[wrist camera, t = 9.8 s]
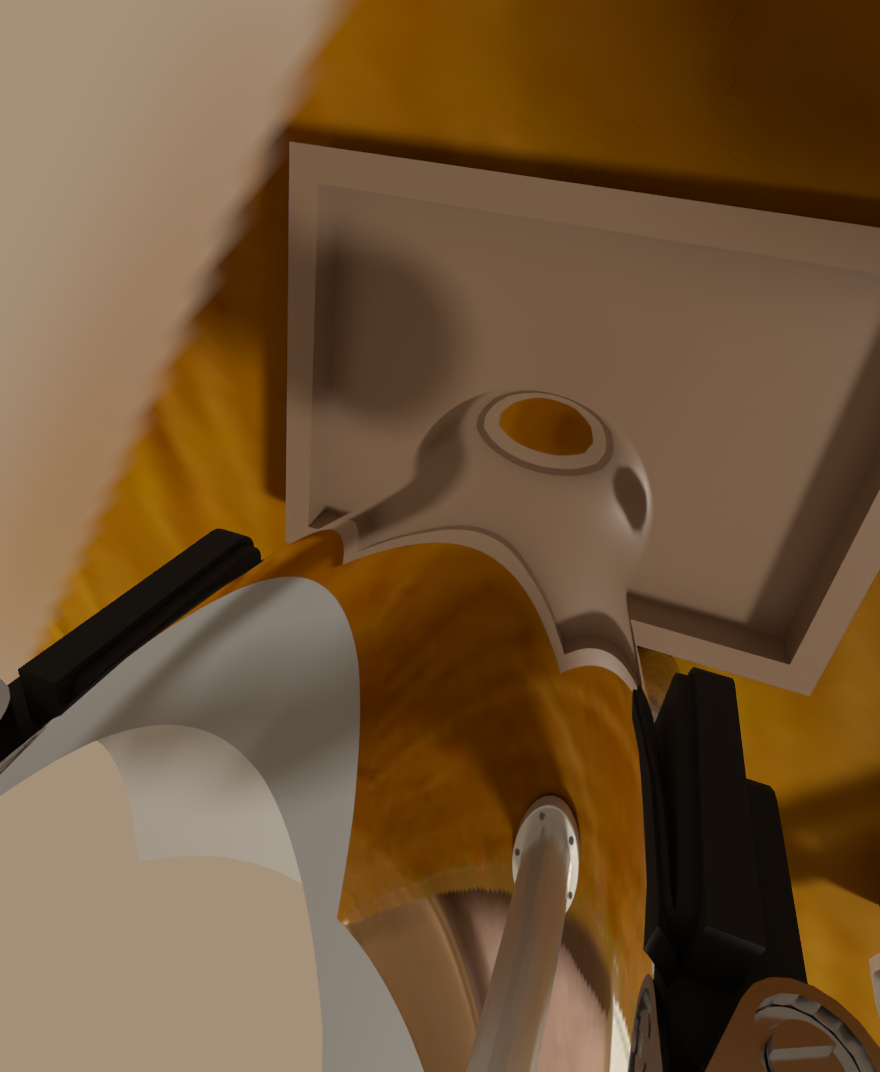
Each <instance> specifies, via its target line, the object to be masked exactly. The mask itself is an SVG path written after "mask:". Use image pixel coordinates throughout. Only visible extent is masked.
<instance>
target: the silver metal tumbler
mask: <svg viewBox="0 0 880 1072" xmlns="http://www.w3.org/2000/svg"><path fill="white" fill-rule="evenodd" d="M653 523H654V499H653V492H652V487H651V483H650V479H649V476H648V473H647V470H646V468H645V465H644V463H643V461H642V459H641V457H640V455H639V453H638V452H637V450H636V448H635V447H634V445H633V444H632V443H631V441H630V440H629V439H628V437H627V436H626V435H625V434H624V432H623V431H622V430H621V429H620V428H619V427H618V426H617V425H616V424H615V423H614V422H612V421H611V420H610V419H609V418H608V417H606V416H605V415H604V414H603V413H601V412H600V411H598V410H597V409H595V408H594V407H592V406H590V405H589V404H587V403H585V402H583V401H581V400H578V399H576V398H574V397H571V396H569V395H566V394H563V393H559V392H556V391H552V390H546V389H540V388H530V387H517V388H506V389H499V390H494V391H490V392H486V393H483V394H480V395H477V396H475V397H472V398H470V399H468V400H466V401H464V402H462V403H460V404H459V405H457V406H455V407H454V408H452V409H451V410H450V411H448V412H447V413H446V414H445V415H443V416H442V417H441V418H440V419H439V420H438V421H437V422H436V423H435V424H434V425H433V426H432V428H431V429H430V430H429V431H428V432H427V434H426V435H425V436H424V438H423V439H422V440H421V442H420V444H419V445H418V447H417V449H416V451H415V453H414V454H413V457H412V459H411V461H410V463H409V465H408V467H407V470H406V472H405V475H404V477H403V479H402V481H401V483H400V484H399V486H397V487H396V488H395V489H394V490H392V491H390V492H389V493H387V494H385V495H383V496H382V497H380V498H378V499H376V500H375V501H373V502H371V503H369V504H367V505H365V506H363V507H361V508H359V509H357V510H355V511H353V512H351V513H349V514H347V515H345V516H343V517H341V518H339V519H337V520H335V521H333V522H331V523H329V524H327V525H325V526H323V527H321V528H319V529H318V530H316V531H314V532H312V533H310V534H308V535H306V536H304V537H302V538H300V539H298V540H297V541H295V542H293V543H291V544H289V545H287V546H285V547H283V548H281V549H280V550H278V551H276V552H274V553H272V554H271V555H269V556H268V557H266V558H264V559H263V560H261V561H259V562H258V563H256V564H255V565H253V566H251V567H250V568H248V569H246V570H245V571H243V572H242V573H240V574H238V575H237V576H235V577H233V578H232V579H230V580H229V581H227V582H225V583H224V584H222V585H220V586H219V587H217V588H216V589H214V590H212V591H211V592H209V593H207V594H206V595H204V596H203V597H201V598H199V599H198V600H196V601H195V602H193V603H192V604H191V605H189V606H188V607H187V608H185V609H184V610H183V611H182V612H180V613H179V614H178V615H176V616H175V617H174V618H172V619H171V620H170V621H169V622H167V623H166V624H165V625H163V626H162V627H161V628H159V629H158V630H157V631H156V632H154V633H153V634H152V635H150V636H149V637H148V638H146V639H145V640H144V641H143V642H141V643H140V644H139V645H137V646H136V647H135V648H134V649H132V650H131V651H130V652H128V653H127V654H126V655H124V656H123V657H122V658H121V659H119V660H118V661H117V662H115V663H114V664H113V665H111V666H110V667H109V668H108V669H106V670H105V671H104V672H102V673H101V674H100V675H98V676H97V677H96V678H95V679H94V680H93V681H92V682H90V683H89V684H88V685H87V686H86V687H85V688H84V689H82V690H81V691H80V692H79V693H78V694H77V695H76V696H74V697H73V698H72V699H71V700H70V701H69V702H68V703H66V704H65V705H64V706H63V707H62V708H61V709H60V710H59V711H57V712H56V713H55V714H54V715H53V716H52V717H51V718H49V719H48V720H47V721H46V722H45V723H44V724H43V725H42V726H40V727H39V728H38V729H37V730H36V731H35V732H34V733H32V734H31V735H30V736H29V737H28V738H27V739H26V740H24V741H23V742H22V743H21V744H20V745H19V746H18V747H17V748H15V749H14V750H13V751H12V752H11V753H10V754H9V755H7V756H6V757H5V758H4V759H3V760H2V761H1V762H0V1072H677V1070H678V1026H679V965H678V941H677V927H676V917H675V894H674V864H673V840H672V833H671V826H670V819H669V812H668V805H667V799H666V792H665V785H664V778H663V771H662V765H661V758H660V751H659V744H658V739H657V734H656V729H655V725H654V720H653V716H652V711H651V706H650V702H649V697H648V693H647V688H646V684H645V679H644V675H643V670H642V666H641V661H640V657H639V653H638V649H637V645H636V641H635V637H634V633H633V629H632V625H631V620H630V615H629V610H628V604H627V592H628V590H629V588H630V586H631V584H632V582H633V580H634V578H635V577H636V575H637V573H638V571H639V569H640V567H641V565H642V563H643V560H644V558H645V555H646V553H647V550H648V547H649V544H650V540H651V536H652V531H653Z"/></svg>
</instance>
